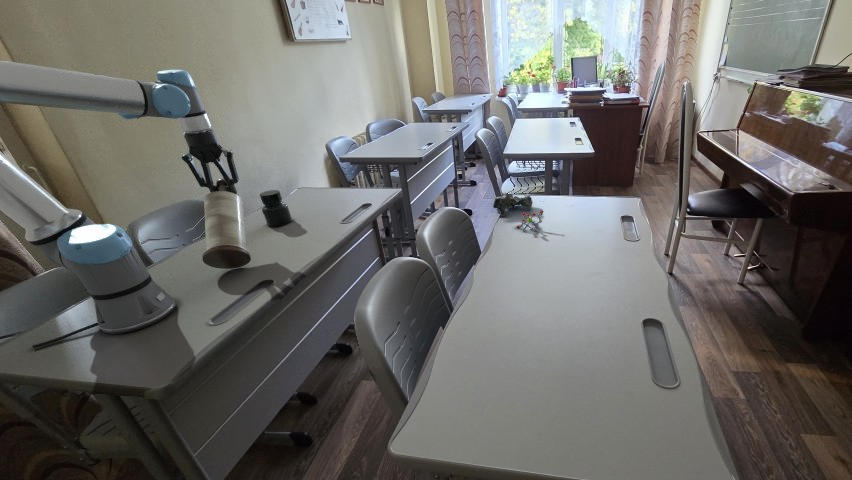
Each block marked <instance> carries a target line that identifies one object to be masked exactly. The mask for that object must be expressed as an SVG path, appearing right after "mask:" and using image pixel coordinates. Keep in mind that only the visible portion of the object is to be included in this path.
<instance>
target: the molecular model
mask: <svg viewBox="0 0 852 480" xmlns="http://www.w3.org/2000/svg"><path fill="white" fill-rule="evenodd" d="M543 213H544V210H542V209H541V210H540V211H539V212H538V213H537V214H536V213H535V212H532V214H531V217H530V214H529V213H526V212H524V211H523V212H522V217H523V219H522V222H521V223H520V224H518V225H516V226H515V227H516V229H520V228H521V231H523V232H525V231H526V228H529V230H530V231H534V232H537V231H538V227H540V224H542V223H543V220H542V219H541V216H542V215H543ZM535 216H536V217H537V218H538V221H537V222H536V221H535V220H533V217H535ZM526 222H527V223H526ZM530 223H531V225H534V227H533V226H530V225H529V224H530Z"/></svg>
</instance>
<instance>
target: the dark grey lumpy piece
mask: <svg viewBox="0 0 852 480" xmlns="http://www.w3.org/2000/svg"><path fill="white" fill-rule="evenodd" d="M532 199H533V198H532V197H531V196H530V194H529V192H527V193H526V194H525V195H524V197H519V195H518V196H516V195H514V196H513V193H512V192H511V193H510V194H509V193H506V192H505V193H504V194H502V195H500V196H496V197H494V201H493V205H492V207H493V209H496V211H497V212H496V215H497V216H499V215H500V216H499V218H502V217H504V215H505V212H506V211H507V209H511V208H512V209H515V207H517V206H521V210H527V211H531V210H532V207H533V200H532Z"/></svg>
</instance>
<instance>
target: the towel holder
mask: <svg viewBox="0 0 852 480" xmlns="http://www.w3.org/2000/svg"><path fill="white" fill-rule="evenodd" d="M215 185H217V187H218V188H219V191H216V192H212V193H211V192H209V193H207V194H206V195H205V196H204V198H203V207H204V210H203V211H204V233H205V234H204V235H205V251H204V252H203V254H202V257H201V258H202V262H203V263H204V264H205V265H207V266H208V267H210V268H215V269H222V270H229V269H230V270H231V269H238V268H242V267H244V266H246V265H248V264H249V263H250V262H251V260H252V257H251V254H250V252H249V251H248V250H247V238H246V236H247V235H246V226H245V225H246V223H245V213H244V203H243V201H244V200H243V198H242V197H241V196H239V195H238V194H234V193H231V192H228V191H227V188H226V186H227V183H226V181H225V179H224V178H223V177H221V178H218V179H217V180H216V182H215Z"/></svg>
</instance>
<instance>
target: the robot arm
mask: <svg viewBox="0 0 852 480" xmlns="http://www.w3.org/2000/svg"><path fill="white" fill-rule="evenodd" d="M155 75H156V78H157V79H156V80H154V81H150V82H149V81H142V80H135V79H129V78H124V77H123V78H122V77H116V76H109V75H108V76H107V75H102V74H96V73H89V72H83V71H76V70H68V69H63V68H62V69H61V68H54V67H49V66H48V67H47V66H42V65H36V64H29V63H22V62H15V61H14V62H13V61H7V60H0V104H10V105H21V106H33V107H45V108H55V109H65V110H66V109H67V110H78V111H88V112H89V111H90V112H101V113H111V114H112V113H113V114H117V115H119V116H120V117H121V118H123V119H125V120H134V119H141V118H148V117H151V118H164V119H176V122H177V124H178V126H179V129H180V131H181V132H183V135H182V136H183V138H184V140H185V142H186V144H187V146H188V148H189V149H188V152H187V153H184V154H183V155H181V160H182V161H184V163H185V164H187V166H188V168H189V170H190V171H191V173H192V175H193V176H194V178H195V180H196V182H197V183H198V185H199V187H201V188H207V189H208V190H209V193H212V192H216V191H219V188H218V187H217V185H216V184H215V182H214V180H213V176H212V172H211V167H210V163H213V164H214V165H215V167H216V168H217V170H218V171H219V173H220V174H221V176H222V178H224V179H225V181H226V183H227V186H226V188H227V191H228V192H231V193H234V194H236V195H238V190H237V188H236V186H235V185H236V184H238V183H239V180H240V177H239V174H238V171H237V166H236V163H235V161H234V150H233V149H231V148H229V149H226V148H223V146H222V145H221V144H220V143H219V141H218V138H217V136H216V133H215V132H214V130H213V128H212V123H211V121H210V119H209V117H208V114H207V111H206V109H205V106H204V104H203V102H202V99H201V97H200V94H199V91H198V88H197V86H196V84H195V82H194V80H193V78H192V76H191V74H190V73H189V72H188V71H187V70H186V69H185V70H184V69H165V70H160V71H157V72H156V74H155ZM222 154H223V156H224V157H225V158H226V162H227V165H228V169H229V171H228V170H227V168H226V167H225V165H224V163H223V160H222V159H221V156H222ZM194 158H195V159H196V160H198V161H199V162H200V167H201V169H202V172H203V174H202V172H201V171H200V169H199V167H198V165H197V163H196V162H195V160H194ZM229 172H230V173H229ZM0 211H1V212H2V213H3V214H5V216H7V217H8V218H10V219H11V220H13V221H14V222H15V223H16V224H17V225H19V226H20V227H22V228H23V229H24V230H25V235H24V239H25V240H26V241H27V242H29V243H30V244H31V245H33V246H34V247H35V248H36V249H38V250H39V251H41V252H42V253H43V254H44V255H45V256H46V257H47V259H48V260H50V261H51V262H52V263H54V264H56V265H57V266H59V267H62V268H64V269H66V270H67V271H70V272H71V273H73V274H74V275H76V276H77V278H78V279H79V280H80V282H81V284H82V285H83V286H84V288H85V290H86V291H87V292H88V294H89V296H90V297H91V298H92V300H93V302H94V309H95V315H96V322H95V323H92V324H90V325H87V326H84V327H81V328H79V329H77V330H76V329H75V330H74V331H71V332H68V333H66V334H63V335H61V336H58V337H55V338H52V339H49V340H46V341H41V342H39V343H35V344H32V345H31V347H32V349H35V348H39V347H42V346H45V345H49V344H52V343H56V342H59V341H61V340H64V339H66V338H69V337H71V336H74V335H76V334H79V333H82V332H84V331H87V330H90V329H92V328H95V327H99V328H100V330H101V331H102V332H103V333H105V334H109V335H119V334H120V335H121V334H126V333H130V332H135V331H138V330H141V329H144V328H146V327H150V326H151V325H154V324H157V323H158V322H160V321H161V320H163V319H165V318H167V317H168V316H169V315H171V314H172V313H173V311H175V309H176V308H177V307H176V306H177V303H176V301H175V299H174V298H173V297H172V296H171V294H170V293H168V292H167V291H166V290H165V289H164V288H162V287H161V286H160V285H159V284H158V283H156V282H155V280H154V279H153V277H152V276H151V274H150V272H149V270H148V269H147V267H146V265H145V264H144V262H143V260H142V258H141V257H140V255H139V253H138V251H137V249H136V247H135V246H134V244H133V241H132V239H131V237H130V236H129V235H128V234H127V232H126V231H125V230H124V229H123V228H122V227H120V226H118V225H116V224H113V223H112V224H111V223H103V224H101V223H95V222H94V221H93V220H92V219H91V218H90V217H88V216H87V215H86V214H85V213H84V212H82V211H81V210H80V209H76V208H68V207H66V206H65V205H64V204H62V203H61V202H60V201H59V200H58V199H57V198H56V197H54V196H53V195H52V194H51V193H50V192H49V191H47V190H46V189H45V188H44V187H43V186H42V185H40V184H39V183H38V182H37V180H34V179H33V178H32V177H31V176H30V175H29V174H28V173H27V172H25V170H23V169H22V168H21V167H20V166H18V165H17V164H16V163H15V162H14V161H12V159H10V158H9V156H7V155H6V154H4V153H3V152H2V151H1V150H0Z"/></svg>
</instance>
